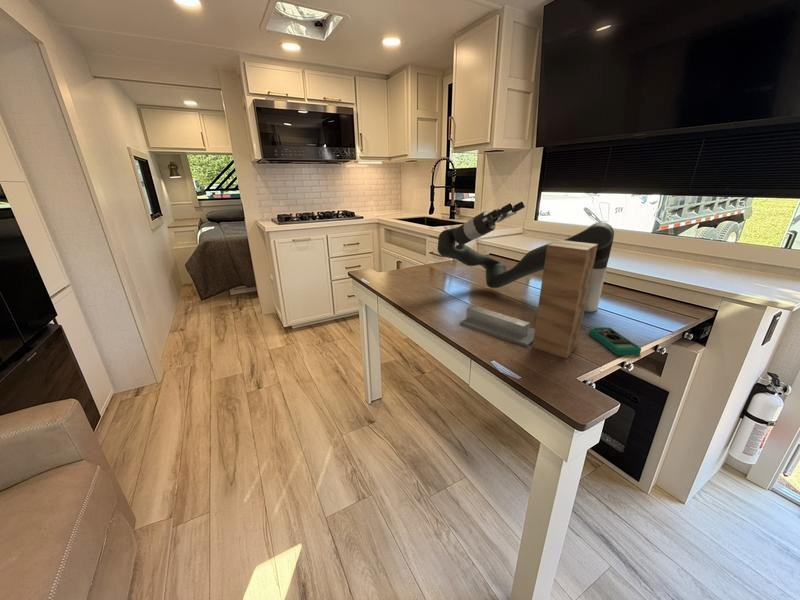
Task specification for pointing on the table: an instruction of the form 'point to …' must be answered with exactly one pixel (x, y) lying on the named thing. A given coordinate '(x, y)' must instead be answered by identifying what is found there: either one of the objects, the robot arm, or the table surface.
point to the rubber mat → (501, 333)
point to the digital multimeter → (614, 341)
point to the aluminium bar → (498, 321)
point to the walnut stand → (563, 296)
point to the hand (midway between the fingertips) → (518, 204)
